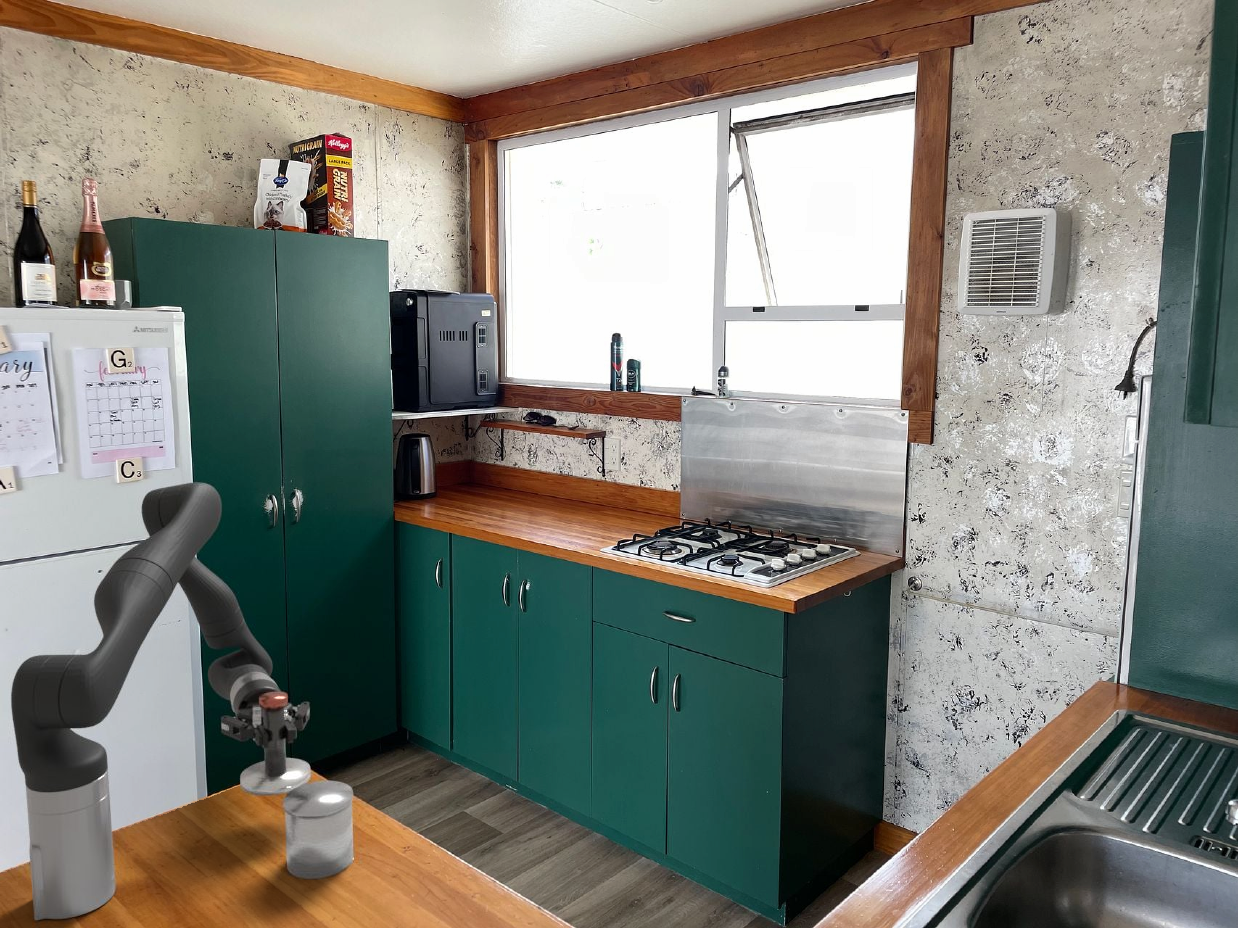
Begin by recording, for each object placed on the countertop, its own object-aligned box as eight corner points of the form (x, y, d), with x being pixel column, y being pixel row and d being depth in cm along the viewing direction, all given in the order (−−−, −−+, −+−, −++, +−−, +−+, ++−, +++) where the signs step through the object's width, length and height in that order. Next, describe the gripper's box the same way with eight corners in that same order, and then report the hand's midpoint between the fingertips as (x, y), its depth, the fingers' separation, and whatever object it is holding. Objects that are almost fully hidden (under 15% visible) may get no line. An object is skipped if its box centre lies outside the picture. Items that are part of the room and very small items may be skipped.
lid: (246, 801, 135) (243, 714, 133) (235, 773, 143) (232, 691, 142) (317, 785, 140) (315, 701, 138) (302, 760, 148) (300, 680, 147)
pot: (293, 886, 126) (291, 819, 125) (279, 853, 134) (276, 790, 133) (362, 867, 131) (361, 802, 130) (345, 836, 139) (343, 775, 138)
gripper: (210, 686, 149) (226, 724, 134) (300, 671, 156) (326, 706, 141) (211, 730, 150) (228, 773, 135) (302, 714, 157) (327, 753, 142)
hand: (278, 738), depth 138 cm, fingers closed on lid, 3 cm apart
